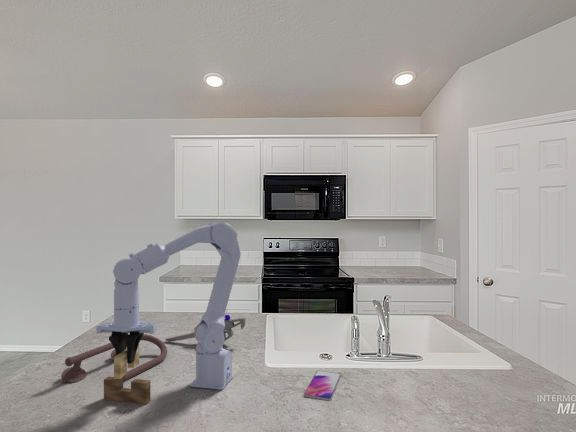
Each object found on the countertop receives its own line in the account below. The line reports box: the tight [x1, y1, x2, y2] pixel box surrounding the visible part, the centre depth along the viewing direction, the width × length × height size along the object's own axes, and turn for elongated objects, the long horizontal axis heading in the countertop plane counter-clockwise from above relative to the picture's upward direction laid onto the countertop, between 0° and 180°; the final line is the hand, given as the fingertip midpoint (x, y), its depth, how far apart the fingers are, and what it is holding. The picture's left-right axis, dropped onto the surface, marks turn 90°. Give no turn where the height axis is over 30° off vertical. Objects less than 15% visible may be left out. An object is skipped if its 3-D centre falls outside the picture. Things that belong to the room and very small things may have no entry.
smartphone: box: [303, 370, 342, 402], centre depth 93 cm, size 7×1×15 cm
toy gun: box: [164, 314, 247, 343], centre depth 126 cm, size 2×32×10 cm, turn 81°
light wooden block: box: [113, 344, 140, 379], centre depth 86 cm, size 9×2×5 cm, turn 177°
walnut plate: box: [103, 376, 152, 405], centre depth 86 cm, size 12×2×5 cm, turn 78°
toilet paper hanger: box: [61, 333, 168, 384], centre depth 105 cm, size 28×7×17 cm
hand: (126, 361), depth 86 cm, fingers closed on light wooden block, 2 cm apart
